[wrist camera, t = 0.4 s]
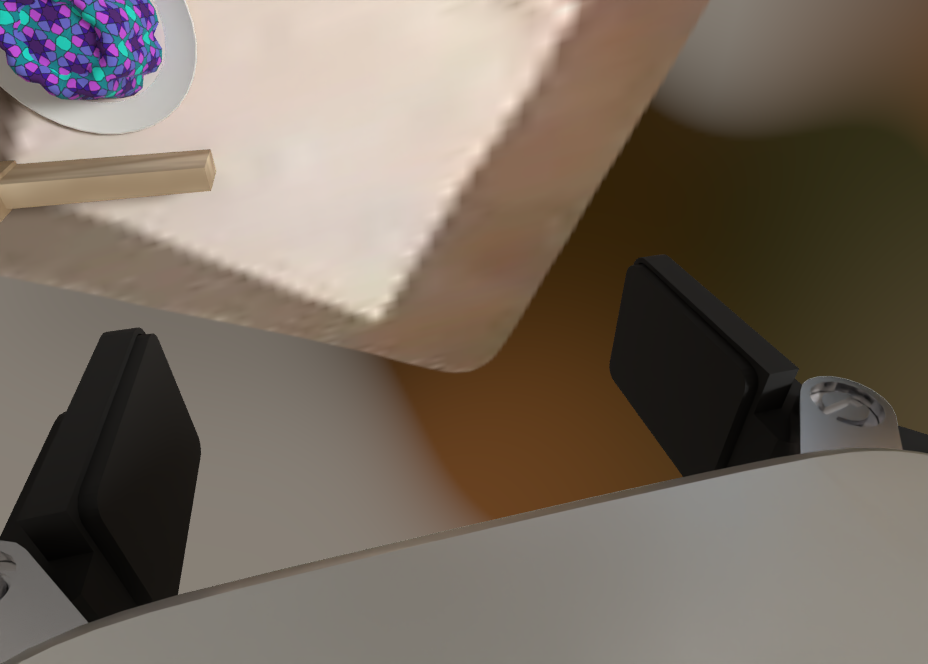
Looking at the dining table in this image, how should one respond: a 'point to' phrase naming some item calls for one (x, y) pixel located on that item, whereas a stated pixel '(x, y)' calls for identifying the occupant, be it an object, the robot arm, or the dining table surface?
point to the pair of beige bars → (103, 179)
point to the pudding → (96, 60)
